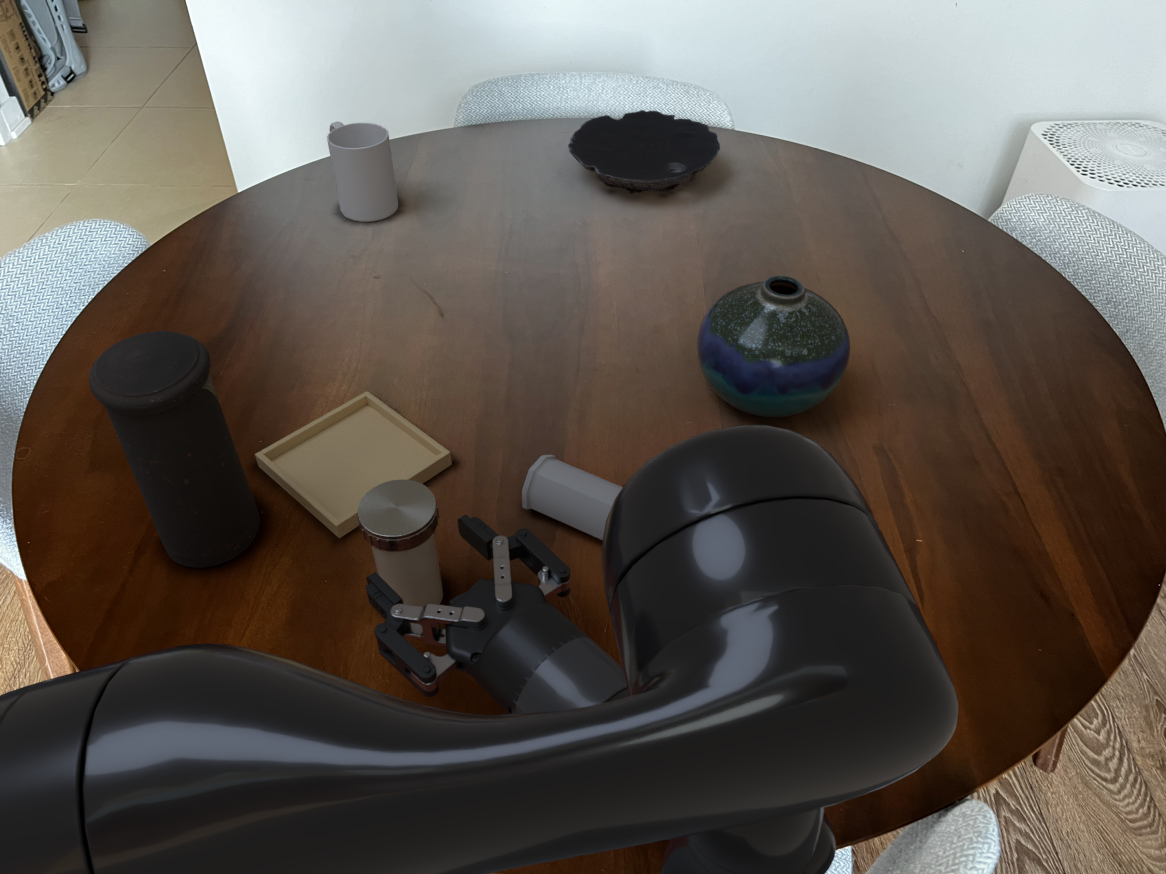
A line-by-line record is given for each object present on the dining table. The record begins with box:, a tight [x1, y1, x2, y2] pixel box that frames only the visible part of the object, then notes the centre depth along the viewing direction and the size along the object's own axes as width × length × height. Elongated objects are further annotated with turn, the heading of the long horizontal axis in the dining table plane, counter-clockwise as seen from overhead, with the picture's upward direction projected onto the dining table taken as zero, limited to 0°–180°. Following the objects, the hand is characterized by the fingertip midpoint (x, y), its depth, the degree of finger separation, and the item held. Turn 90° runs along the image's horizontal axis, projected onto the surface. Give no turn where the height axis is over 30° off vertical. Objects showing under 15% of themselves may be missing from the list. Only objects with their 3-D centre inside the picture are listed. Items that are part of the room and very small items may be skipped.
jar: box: [370, 533, 444, 606], centre depth 73 cm, size 5×5×10 cm
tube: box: [521, 454, 624, 541], centre depth 79 cm, size 5×5×25 cm
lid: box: [357, 480, 440, 552], centre depth 70 cm, size 6×6×2 cm
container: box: [88, 330, 261, 569], centre depth 75 cm, size 9×9×20 cm
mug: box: [326, 121, 399, 223], centre depth 123 cm, size 12×8×10 cm, turn 37°
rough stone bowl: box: [567, 109, 721, 195], centre depth 132 cm, size 22×22×5 cm
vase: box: [696, 275, 851, 418], centre depth 93 cm, size 15×15×13 cm
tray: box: [254, 390, 453, 539], centre depth 88 cm, size 13×13×2 cm
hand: (417, 551), depth 71 cm, fingers open, 8 cm apart
